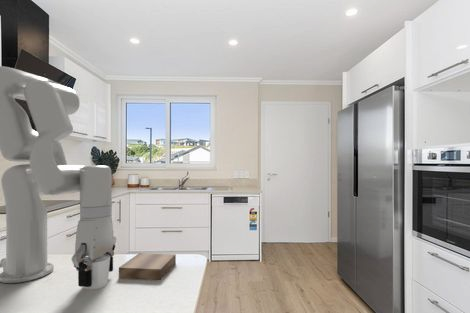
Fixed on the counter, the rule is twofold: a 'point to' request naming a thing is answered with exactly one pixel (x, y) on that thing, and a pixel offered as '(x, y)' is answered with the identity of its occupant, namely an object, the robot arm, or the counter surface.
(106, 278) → the white and grey cylinder
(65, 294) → the counter surface
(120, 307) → the counter surface
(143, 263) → the walnut base
